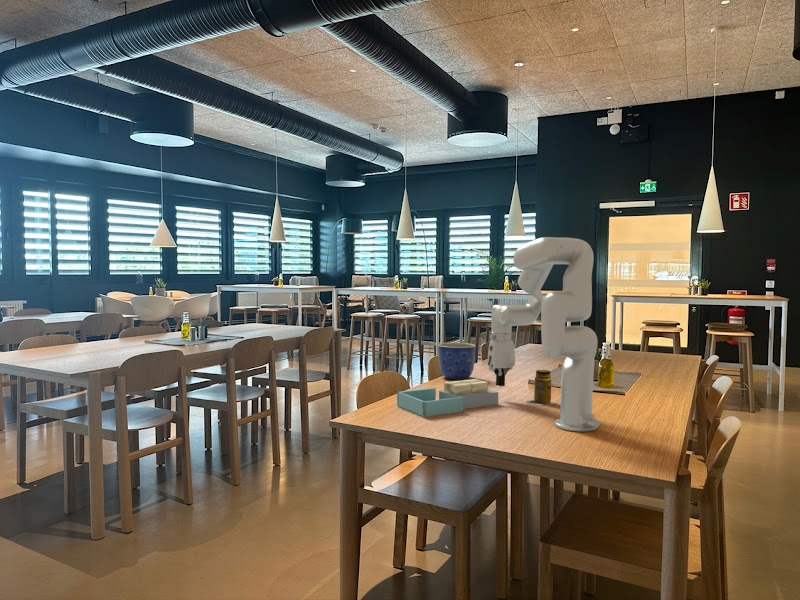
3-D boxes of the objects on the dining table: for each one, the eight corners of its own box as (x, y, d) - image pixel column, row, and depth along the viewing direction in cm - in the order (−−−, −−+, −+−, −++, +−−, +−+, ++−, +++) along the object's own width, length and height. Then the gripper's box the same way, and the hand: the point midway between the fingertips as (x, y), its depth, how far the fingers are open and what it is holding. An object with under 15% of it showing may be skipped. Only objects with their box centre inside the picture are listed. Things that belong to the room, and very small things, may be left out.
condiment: (555, 403, 209) (556, 371, 209) (540, 406, 205) (540, 373, 204) (541, 399, 215) (541, 368, 215) (525, 402, 211) (525, 370, 210)
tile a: (487, 391, 207) (487, 382, 207) (472, 393, 203) (472, 383, 203) (475, 388, 213) (476, 379, 213) (460, 390, 209) (460, 380, 209)
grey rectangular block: (498, 404, 206) (498, 392, 206) (458, 409, 197) (458, 397, 197) (477, 398, 217) (478, 386, 216) (438, 402, 208) (439, 390, 208)
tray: (463, 411, 195) (463, 397, 195) (423, 417, 187) (424, 402, 187) (434, 401, 210) (434, 387, 210) (397, 405, 202) (397, 392, 202)
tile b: (471, 393, 203) (471, 384, 203) (455, 395, 200) (455, 385, 199) (459, 390, 209) (459, 380, 209) (444, 391, 206) (444, 382, 205)
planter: (435, 380, 251) (436, 346, 250) (439, 374, 268) (440, 342, 267) (474, 382, 248) (474, 347, 248) (475, 375, 265) (476, 343, 264)
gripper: (492, 339, 206) (491, 389, 207) (523, 337, 214) (522, 385, 215) (479, 337, 213) (478, 385, 214) (509, 335, 220) (509, 382, 221)
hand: (500, 385), depth 214 cm, fingers closed
